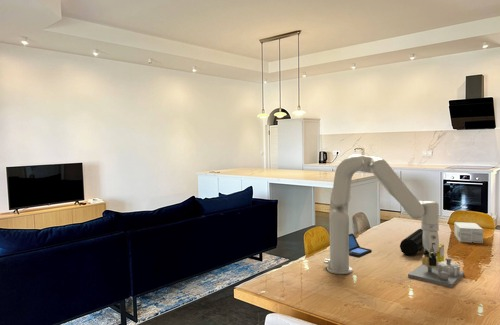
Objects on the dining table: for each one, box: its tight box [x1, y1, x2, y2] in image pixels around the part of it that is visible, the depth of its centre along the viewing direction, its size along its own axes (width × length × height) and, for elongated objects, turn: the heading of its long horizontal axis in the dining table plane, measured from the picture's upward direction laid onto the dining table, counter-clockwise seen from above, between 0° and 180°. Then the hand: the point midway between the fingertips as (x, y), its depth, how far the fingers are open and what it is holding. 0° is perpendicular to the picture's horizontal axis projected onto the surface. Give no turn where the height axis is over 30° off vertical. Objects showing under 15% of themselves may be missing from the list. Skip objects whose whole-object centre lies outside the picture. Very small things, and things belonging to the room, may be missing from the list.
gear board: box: [407, 257, 465, 288], centre depth 176 cm, size 19×20×8 cm
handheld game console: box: [349, 233, 373, 258], centre depth 217 cm, size 16×13×9 cm
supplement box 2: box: [453, 221, 484, 244], centre depth 239 cm, size 17×13×9 cm
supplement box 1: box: [431, 243, 445, 262], centre depth 191 cm, size 6×6×11 cm
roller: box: [399, 228, 424, 257], centre depth 221 cm, size 38×10×10 cm, turn 140°
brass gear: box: [421, 254, 438, 267], centre depth 178 cm, size 7×7×4 cm
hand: (429, 262), depth 178 cm, fingers closed on brass gear, 6 cm apart
